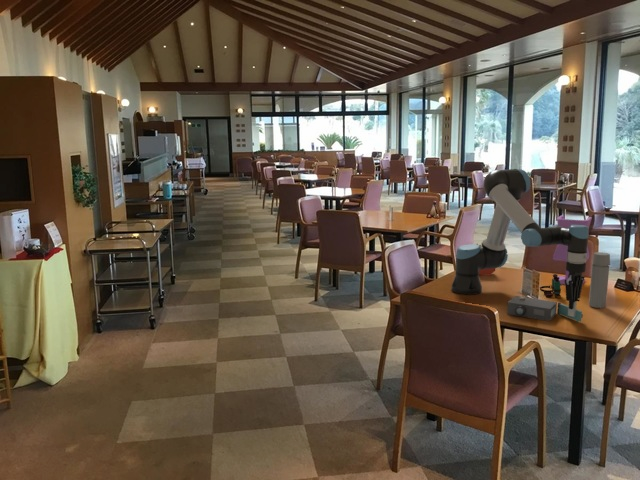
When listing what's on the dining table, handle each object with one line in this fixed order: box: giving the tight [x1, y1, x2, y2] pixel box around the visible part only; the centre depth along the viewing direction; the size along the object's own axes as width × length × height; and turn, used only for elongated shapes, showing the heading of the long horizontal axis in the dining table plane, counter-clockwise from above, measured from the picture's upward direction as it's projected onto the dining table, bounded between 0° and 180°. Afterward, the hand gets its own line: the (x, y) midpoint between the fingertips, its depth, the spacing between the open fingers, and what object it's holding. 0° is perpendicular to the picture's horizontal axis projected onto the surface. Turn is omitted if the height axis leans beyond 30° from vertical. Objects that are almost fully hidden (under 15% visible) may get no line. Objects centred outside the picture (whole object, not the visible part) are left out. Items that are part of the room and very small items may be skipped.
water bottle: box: [588, 251, 611, 309], centre depth 260 cm, size 9×8×25 cm
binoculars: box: [539, 273, 563, 299], centre depth 278 cm, size 9×11×10 cm
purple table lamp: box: [552, 215, 593, 286], centre depth 301 cm, size 16×16×35 cm
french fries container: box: [475, 243, 496, 276], centre depth 322 cm, size 5×11×18 cm, turn 89°
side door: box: [556, 301, 584, 323], centre depth 245 cm, size 2×13×5 cm, turn 20°
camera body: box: [506, 295, 558, 322], centre depth 250 cm, size 18×14×6 cm
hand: (571, 315), depth 241 cm, fingers closed
